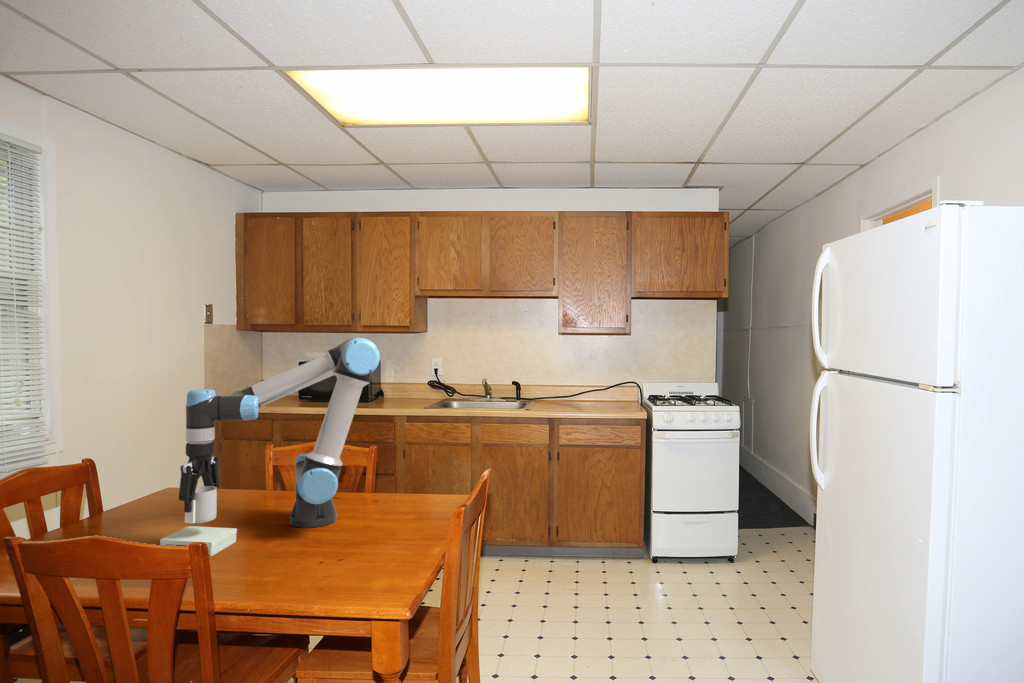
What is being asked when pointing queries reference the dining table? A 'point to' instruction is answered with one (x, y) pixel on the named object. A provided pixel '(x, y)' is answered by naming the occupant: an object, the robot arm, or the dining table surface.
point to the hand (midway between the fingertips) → (199, 518)
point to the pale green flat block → (203, 537)
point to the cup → (205, 504)
